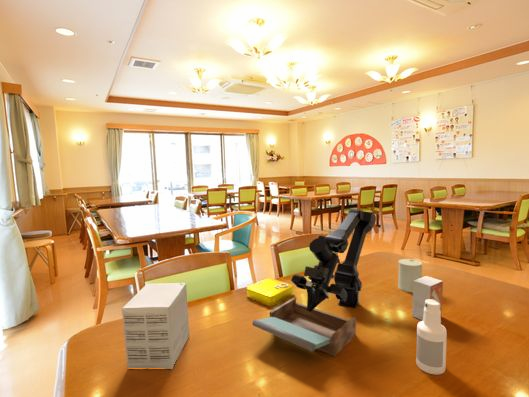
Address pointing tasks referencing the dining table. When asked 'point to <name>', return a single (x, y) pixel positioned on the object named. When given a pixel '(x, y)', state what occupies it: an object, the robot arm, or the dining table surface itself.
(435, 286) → the small box
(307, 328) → the open wooden crate
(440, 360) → the spray bottle
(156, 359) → the supplement box
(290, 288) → the element tile
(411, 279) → the can
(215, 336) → the dining table surface
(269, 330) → the panel
